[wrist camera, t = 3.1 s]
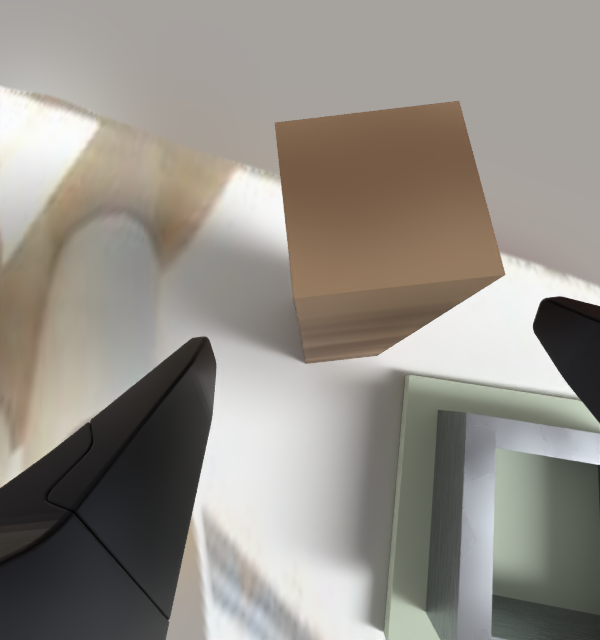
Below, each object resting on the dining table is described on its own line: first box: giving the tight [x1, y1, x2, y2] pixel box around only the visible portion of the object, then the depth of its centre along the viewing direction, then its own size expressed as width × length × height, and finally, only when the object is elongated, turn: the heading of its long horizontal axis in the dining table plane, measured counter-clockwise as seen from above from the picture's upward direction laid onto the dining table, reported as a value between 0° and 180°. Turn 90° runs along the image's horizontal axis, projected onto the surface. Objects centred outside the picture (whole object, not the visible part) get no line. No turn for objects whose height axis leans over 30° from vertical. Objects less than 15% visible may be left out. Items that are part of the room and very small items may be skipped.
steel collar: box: [426, 410, 600, 640], centre depth 14 cm, size 9×9×3 cm
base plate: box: [384, 375, 600, 640], centre depth 16 cm, size 12×12×1 cm
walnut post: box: [275, 101, 505, 364], centre depth 13 cm, size 4×4×12 cm
